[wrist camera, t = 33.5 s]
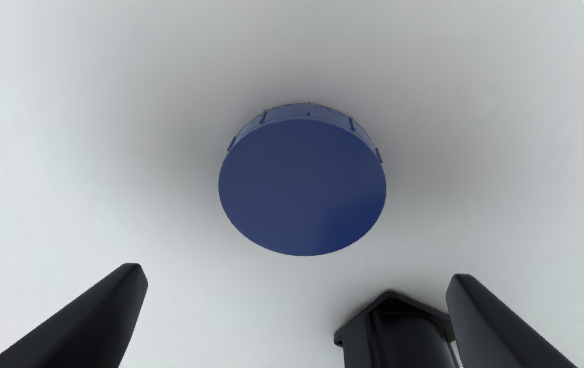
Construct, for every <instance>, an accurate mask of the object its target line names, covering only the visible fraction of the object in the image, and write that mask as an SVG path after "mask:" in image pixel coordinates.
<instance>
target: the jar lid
mask: <svg viewBox="0 0 584 368" xmlns="http://www.w3.org/2000/svg"><path fill="white" fill-rule="evenodd" d="M228 151H229V152H228V154H227V156H226V158H225V160H224V162H223V164H222V167H221V170H220V174H219V181H218V186H219V196H220V201H221V204H222V207H223V209H224V211H225V213H226V215H227V217H228V218H229V220H230V221H231V223H232V224H233V225H234V226H235V227H236V228H237V230H239V231H240V232H241V233H242V234H243V235H244V236H245V237H247V238H248V239H250V240H251V241H253V242H254V243H256V244H258V245H260V246H262V247H264V248H266V249H269V250H272V251H275V252H278V253H282V254H287V255H294V256H315V255H322V254H327V253H331V252H334V251H337V250H340V249H343V248H345V247H347V246H349V245H351V244H352V243H354V242H356V241H357V240H359V239H360V238H361V237H362V236H364V235H365V234H366V233H367V232H368V231H369V230H370V229H371V228H372V226H373V225H374V224H375V222H376V221H377V219H378V218H379V216H380V214H381V212H382V209H383V206H384V203H385V198H386V180H385V175H384V172H383V169H382V166H381V163H383V162H382V160H381V157H380V154H379V152H378V149H377V148H375V147H374V145H373V143H372V141H371V139H370V138H369V136H368V135H367V133H366V132H365V131H364V130H363V129H362V128H361V127H360V126H359V125H358V124H357V123H356V122H355V121H353V118H352V117H350V118H349V117H347V116H346V115H344V114H342V113H341V112H338V111H336V110H333V109H331V108H328V107H324V106H320V105H314V104H310V102H308V103H307V104H290V105H284V106H280V107H276V108H273V109H271V110H268V111H266V110H264V111H263V113H262V114H260V115H259V116H257V117H255V118H254V119H253V120H251V121H250V122H249V123H248V124H247V125H246V126H245V127H244V128H243V129H242V130H241V131H240V133H239V134H238V135H237V137H234V138H233V140H232V142H231V144H230V146H229V148H228Z"/></svg>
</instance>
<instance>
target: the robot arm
mask: <svg viewBox="0 0 584 368" xmlns="http://www.w3.org/2000/svg"><path fill="white" fill-rule="evenodd" d="M147 288H148V281H147V278H146V276H145V274H144V272H143V269H142V267H141V265H140V264H138V263H125V264H123V265H121V266H120V267H118V268H117V269H116V270H114V271H113V272H111V273H110V274H109V275H107V276H106V277H105V278H103V279H102V280H101V281H99V282H98V283H96V284H95V285H94V286H92V287H91V288H90V289H88V290H87V291H86V292H84V293H83V294H81V295H80V296H79V297H77V298H76V299H75V300H73V301H72V302H71V303H69V304H68V305H66V306H65V307H64V308H62V309H61V310H60V311H58V312H57V313H55V314H54V315H53V316H51V317H50V318H49V319H47V320H46V321H45V322H43V323H42V324H40V325H39V326H38V327H36V328H35V329H34V330H32V331H31V332H30V333H28V334H27V335H25V336H24V337H23V338H21V339H20V340H19V341H17V342H16V343H14V344H13V345H12V346H10V347H9V348H8V349H6V350H5V351H4V352H2V353H1V354H0V368H118V367H119V365H120V362H121V360H122V358H123V356H124V353H125V351H126V349H127V347H128V344H129V342H130V339H131V337H132V334H133V331H134V328H135V325H136V322H137V319H138V316H139V313H140V310H141V307H142V304H143V301H144V298H145V295H146V292H147ZM446 302H447V306H448V310H449V314H450V316H448V315H446V314H443V313H441V312H439V311H436V310H434V309H432V308H430V307H427V306H425V305H423V304H421V303H418V302H416V301H414V300H411V299H409V298H407V297H405V296H402V295H400V294H398V293H395V292H386V293H384V294H383V295H381V296H380V297H379V298H378V299H377V300H376V301H374V302H373V303H372V304H371V305H370V306H368V307H367V308H366V309H365V310H364V311H362V312H361V313H360V314H359V315H358V316H356V317H355V318H354V319H353V320H352V321H350V322H349V323H348V324H347V325H346V326H344V327H343V328H342V329H341V330H340V331H338V332H337V333H336V334H335V335H334V344H335V345H337V346H340V347H342V348H343V351H344V364H345V368H460V367H459V364H458V362H457V359H456V356H455V354H454V351H453V348H452V346H451V342H452V341H454V340H456V343H457V347H458V351H459V355H460V358H461V361H462V364H463V367H464V368H577V367H576V366H575V365H574V364H573V363H572V362H571V361H569V360H568V359H567V358H566V357H565V356H564V355H563V354H561V353H560V352H559V351H558V350H557V349H556V348H554V347H553V346H552V345H551V344H550V343H549V342H548V341H546V340H545V339H544V338H543V337H542V336H541V335H540V334H538V333H537V332H536V331H535V330H534V329H533V328H532V327H530V326H529V325H528V324H527V323H526V322H525V321H524V320H522V319H521V318H520V317H519V316H518V315H517V314H516V313H514V312H513V311H512V310H511V309H510V308H509V307H507V306H506V305H505V304H504V303H503V302H502V301H501V300H499V299H498V298H497V297H496V296H495V295H494V294H493V293H491V292H490V291H489V290H488V289H487V288H486V287H485V286H483V285H482V284H481V283H480V282H479V281H478V280H477V279H475V278H474V277H473V276H471V275H469V274H454V275H453V277H452V279H451V281H450V284H449V286H448V289H447V291H446Z"/></svg>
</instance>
